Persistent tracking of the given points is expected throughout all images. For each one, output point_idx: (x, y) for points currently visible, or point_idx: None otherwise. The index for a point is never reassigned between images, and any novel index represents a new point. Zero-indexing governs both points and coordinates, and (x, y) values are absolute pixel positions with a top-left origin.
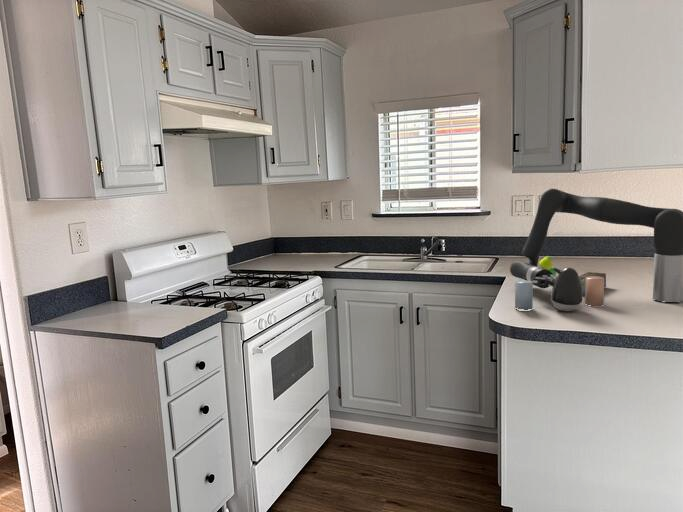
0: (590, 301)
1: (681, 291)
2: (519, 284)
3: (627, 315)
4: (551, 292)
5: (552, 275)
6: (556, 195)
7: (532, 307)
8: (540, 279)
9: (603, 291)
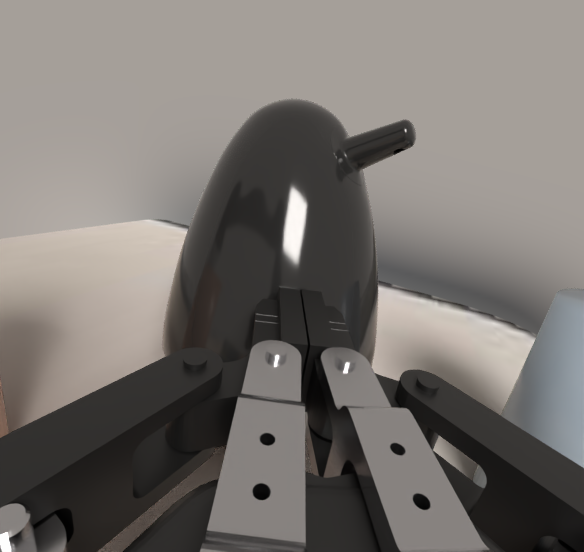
0: (5, 412)
1: None
2: None
3: (47, 296)
4: (376, 330)
5: (236, 543)
6: None
7: (478, 469)
8: (526, 437)
9: None
